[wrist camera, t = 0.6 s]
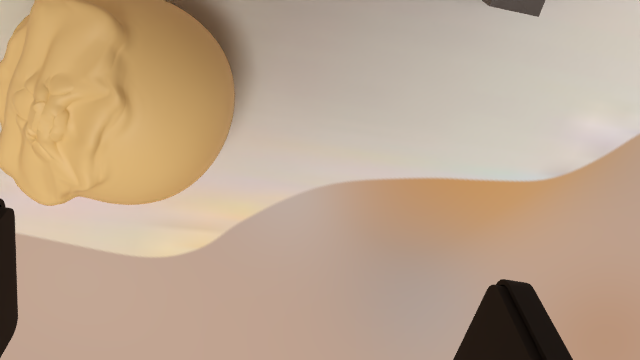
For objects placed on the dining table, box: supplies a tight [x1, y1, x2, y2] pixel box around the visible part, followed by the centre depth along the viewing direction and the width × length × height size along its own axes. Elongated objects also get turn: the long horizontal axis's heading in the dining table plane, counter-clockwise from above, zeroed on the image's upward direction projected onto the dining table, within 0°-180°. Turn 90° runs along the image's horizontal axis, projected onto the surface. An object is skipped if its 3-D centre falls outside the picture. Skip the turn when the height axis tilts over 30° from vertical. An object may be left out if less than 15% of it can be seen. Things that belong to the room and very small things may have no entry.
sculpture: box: [0, 0, 235, 206], centre depth 31 cm, size 12×12×11 cm
